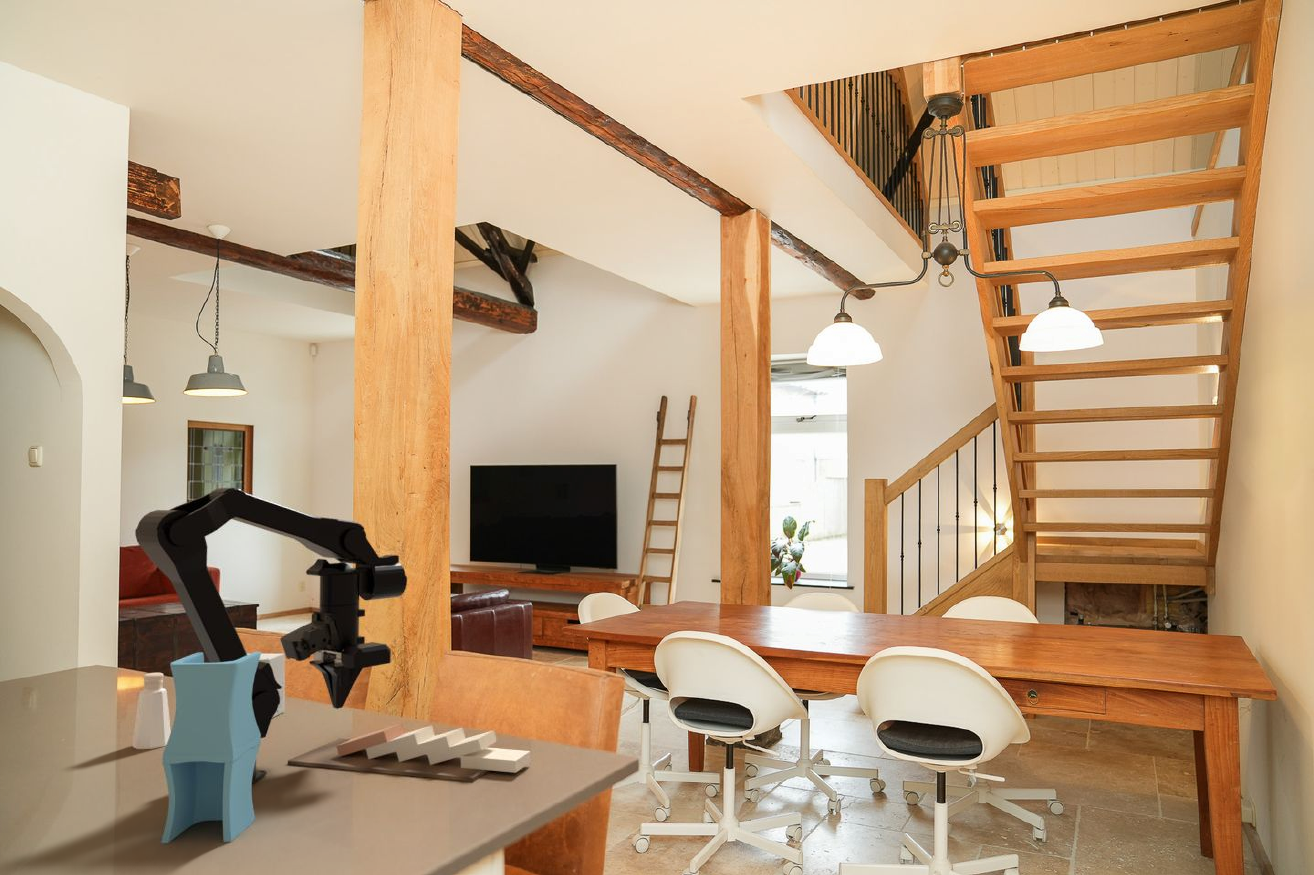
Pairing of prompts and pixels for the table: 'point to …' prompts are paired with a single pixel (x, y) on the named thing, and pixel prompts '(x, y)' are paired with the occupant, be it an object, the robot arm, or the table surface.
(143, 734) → the pepper shaker
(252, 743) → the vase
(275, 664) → the small box
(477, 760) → the domino
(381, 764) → the walnut board
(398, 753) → the domino
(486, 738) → the domino
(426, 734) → the domino
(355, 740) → the terracotta domino
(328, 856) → the table surface
